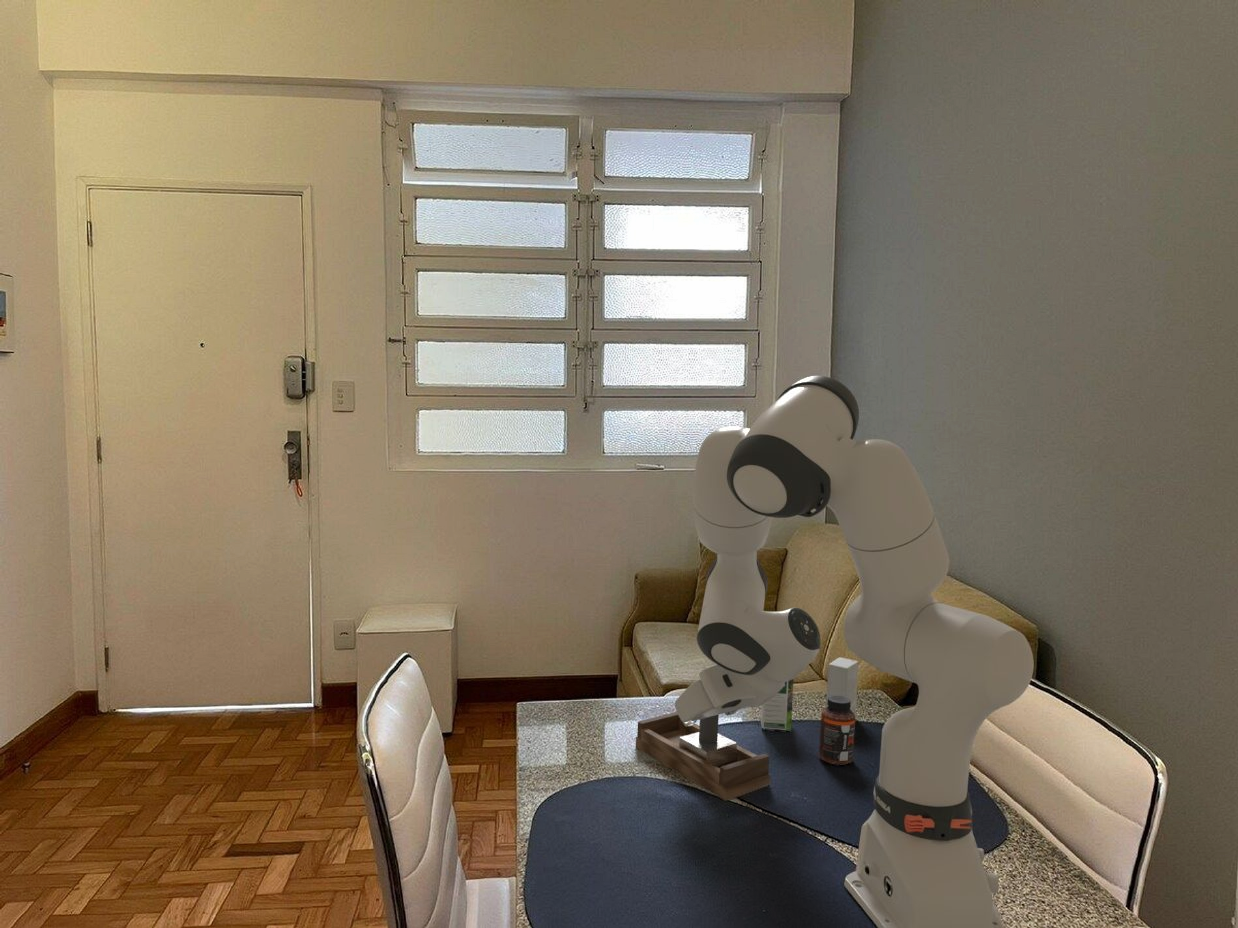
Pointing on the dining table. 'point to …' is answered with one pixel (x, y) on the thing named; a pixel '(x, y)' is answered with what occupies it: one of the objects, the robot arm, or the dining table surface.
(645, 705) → the dining table surface
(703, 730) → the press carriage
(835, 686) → the skincare box
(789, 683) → the syrup box
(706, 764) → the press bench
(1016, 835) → the dining table surface
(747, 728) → the dining table surface
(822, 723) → the supplement bottle
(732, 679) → the robot arm
